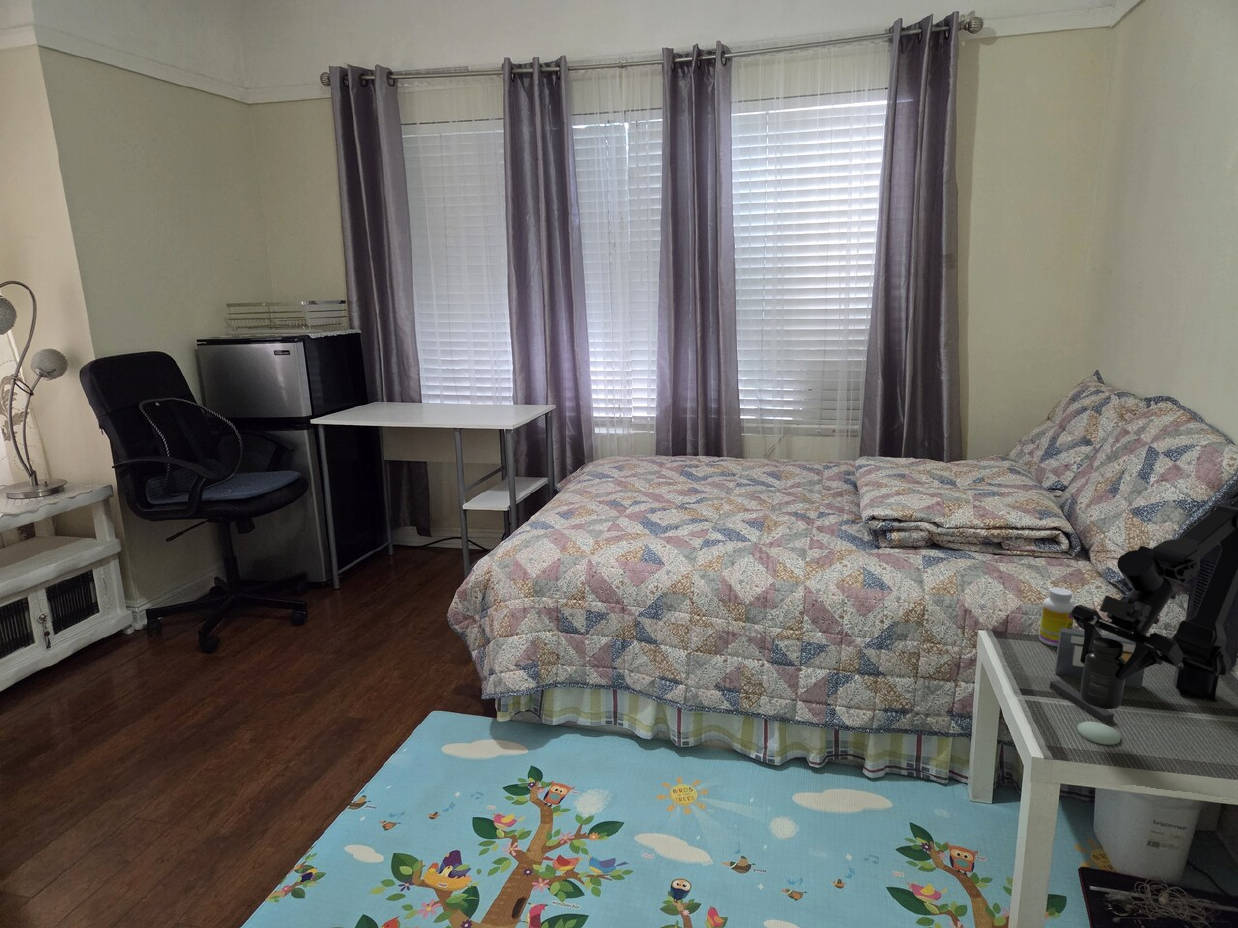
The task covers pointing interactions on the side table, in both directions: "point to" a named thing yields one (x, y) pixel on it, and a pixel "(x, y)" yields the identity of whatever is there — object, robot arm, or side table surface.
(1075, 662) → the paddle
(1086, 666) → the supplement bottle
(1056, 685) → the dark grey slat
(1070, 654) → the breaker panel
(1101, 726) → the pad
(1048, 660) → the side table surface
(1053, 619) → the supplement bottle
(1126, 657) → the paddle main
